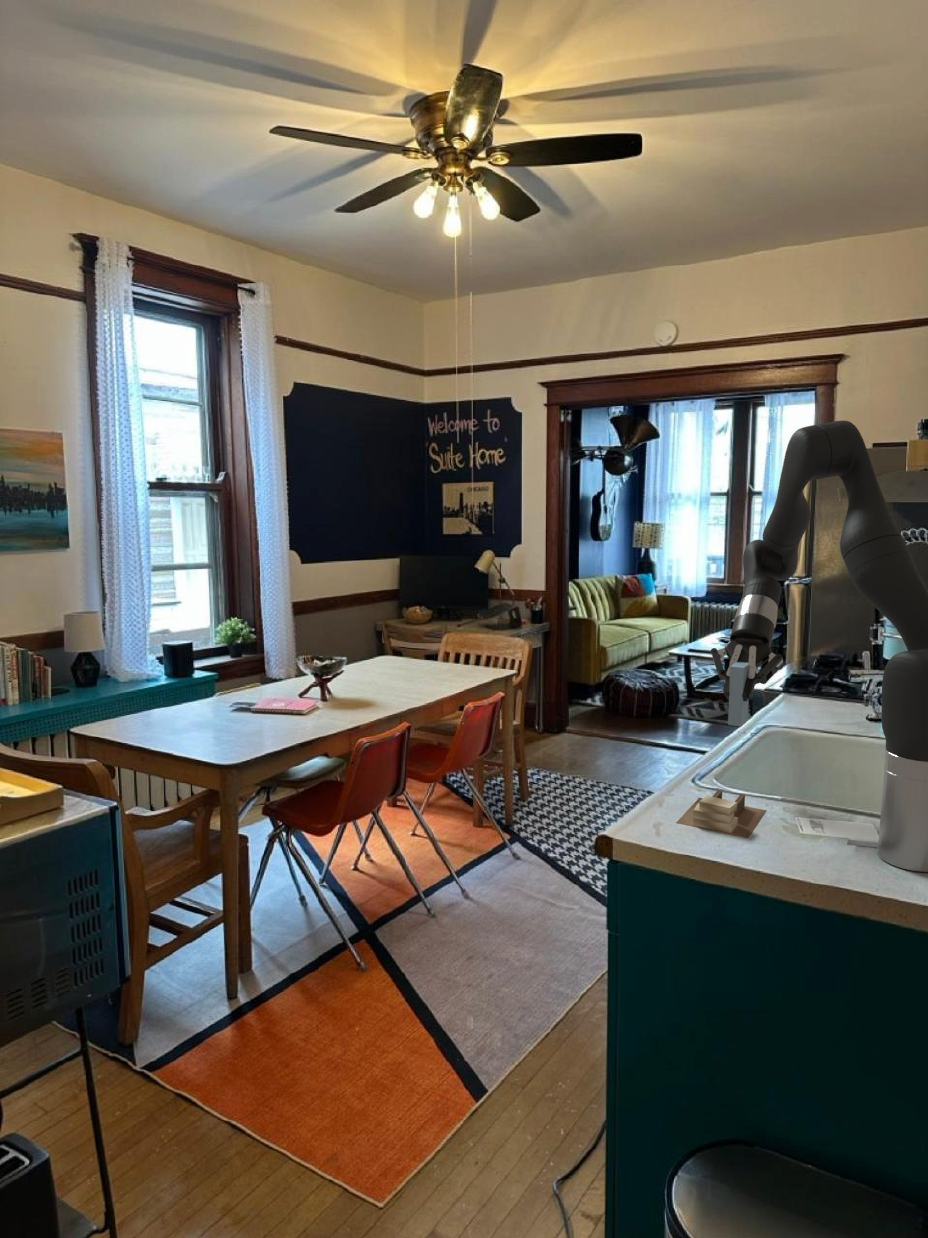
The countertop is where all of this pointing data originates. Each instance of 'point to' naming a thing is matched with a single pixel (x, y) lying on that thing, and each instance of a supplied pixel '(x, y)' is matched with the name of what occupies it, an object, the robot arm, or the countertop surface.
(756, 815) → the walnut stand
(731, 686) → the slate-blue block
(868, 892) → the countertop surface
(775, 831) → the countertop surface
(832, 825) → the external hard drive
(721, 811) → the birch offcut stack
